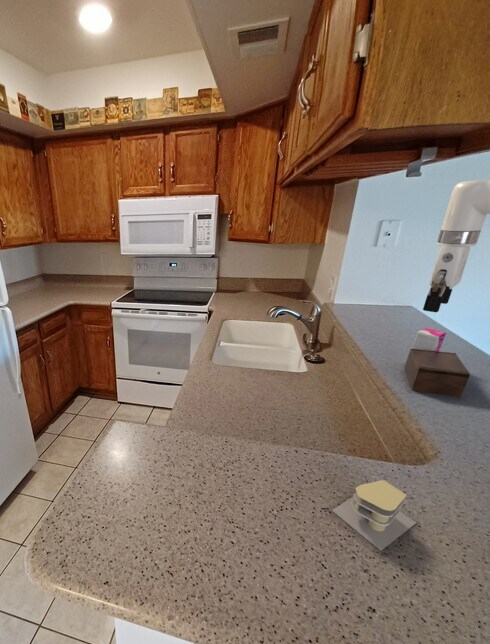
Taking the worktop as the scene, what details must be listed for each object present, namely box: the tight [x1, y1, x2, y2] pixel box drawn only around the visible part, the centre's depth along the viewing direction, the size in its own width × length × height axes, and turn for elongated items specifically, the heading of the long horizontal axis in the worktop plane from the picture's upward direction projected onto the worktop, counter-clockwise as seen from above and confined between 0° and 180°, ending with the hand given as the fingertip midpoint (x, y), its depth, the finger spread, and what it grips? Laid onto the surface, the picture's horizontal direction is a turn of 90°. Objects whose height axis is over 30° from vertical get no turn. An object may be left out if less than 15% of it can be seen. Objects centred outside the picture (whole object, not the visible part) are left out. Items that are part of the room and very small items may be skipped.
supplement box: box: [411, 327, 447, 352], centre depth 103 cm, size 6×6×12 cm
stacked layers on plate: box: [331, 479, 417, 551], centre depth 56 cm, size 10×9×6 cm
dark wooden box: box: [403, 348, 471, 398], centre depth 95 cm, size 11×14×7 cm
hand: (435, 306), depth 87 cm, fingers open, 9 cm apart
